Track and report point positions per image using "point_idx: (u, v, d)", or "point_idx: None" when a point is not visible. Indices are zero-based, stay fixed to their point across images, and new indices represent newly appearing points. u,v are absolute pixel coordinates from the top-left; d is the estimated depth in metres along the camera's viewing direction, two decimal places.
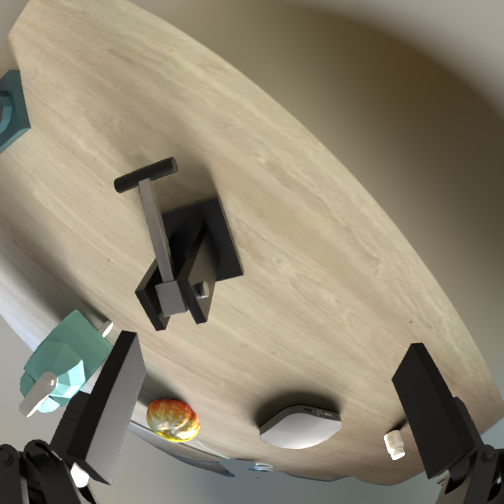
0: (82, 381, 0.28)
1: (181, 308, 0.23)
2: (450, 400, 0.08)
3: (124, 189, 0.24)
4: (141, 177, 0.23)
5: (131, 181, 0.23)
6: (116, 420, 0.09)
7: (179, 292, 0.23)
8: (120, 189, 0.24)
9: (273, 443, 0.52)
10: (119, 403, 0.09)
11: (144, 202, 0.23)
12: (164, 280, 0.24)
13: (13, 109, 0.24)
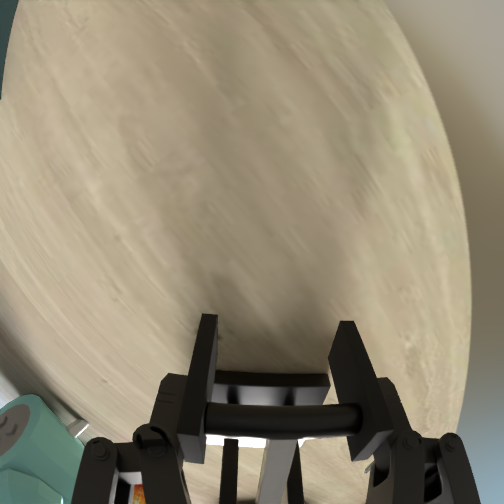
0: None
1: None
2: (371, 378, 0.10)
3: (227, 437, 0.09)
4: (283, 437, 0.09)
5: (254, 437, 0.09)
6: (208, 397, 0.10)
7: None
8: (218, 437, 0.09)
9: None
10: (210, 381, 0.11)
11: (269, 470, 0.09)
12: None
13: None
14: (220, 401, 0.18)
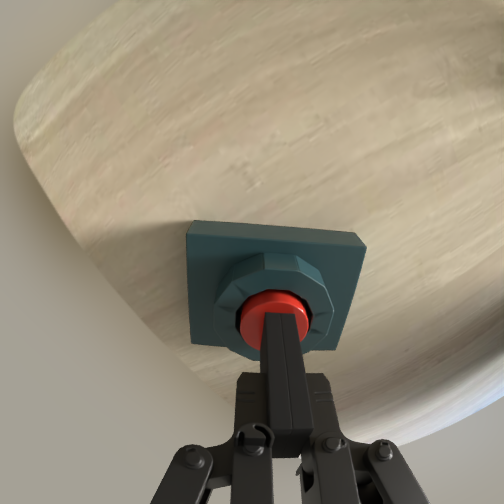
0: None
1: None
2: (299, 372, 0.10)
3: None
4: None
5: None
6: None
7: None
8: None
9: None
10: None
11: None
12: None
13: (306, 254, 0.15)
14: None
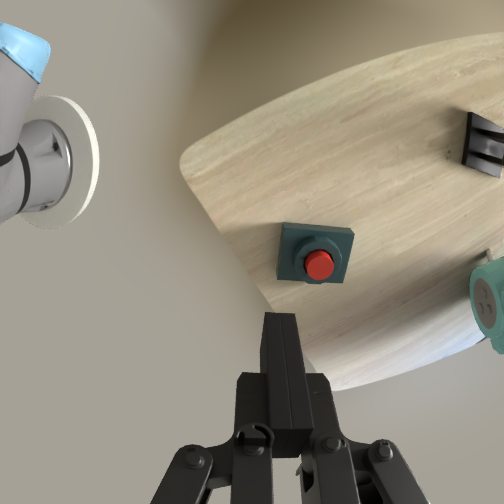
0: None
1: None
2: (299, 372, 0.10)
3: None
4: None
5: None
6: None
7: None
8: None
9: None
10: None
11: None
12: None
13: (330, 236, 0.38)
14: (475, 159, 0.33)
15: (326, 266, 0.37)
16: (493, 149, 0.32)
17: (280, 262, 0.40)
